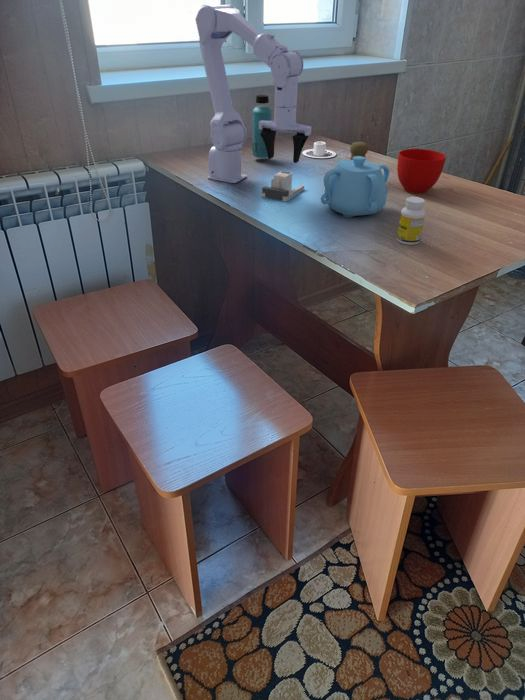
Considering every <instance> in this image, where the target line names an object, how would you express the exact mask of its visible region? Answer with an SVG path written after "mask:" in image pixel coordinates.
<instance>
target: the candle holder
mask: <svg viewBox="0 0 525 700" xmlns="http://www.w3.org/2000/svg"><path fill="white" fill-rule="evenodd" d="M310 151H312V152H313V154H314V155H313V156H312V155H309V154H308V153H311V152H310ZM325 151H327V152H325ZM307 152H308V153H307ZM328 152H330V153H332V155H331V154H330V153H329V154H330V155H328V156H326V153H328ZM306 153H307V154H306ZM301 155H303V156H305V157H308V158H313V159H329V158H333V157H336V156H337V153H336V152H335V151H333V150H330V149H327V143H326V142H325V141H315V142H313V148H310V149H305V150H302V151H301ZM315 155H316V156H315ZM323 155H324V156H323Z"/></svg>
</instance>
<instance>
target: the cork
mask: <svg viewBox="0 0 525 700" xmlns="http://www.w3.org/2000/svg"><path fill="white" fill-rule="evenodd" d="M349 150H350V154H351V156H350V159H349V160H353V157H355V156H362V157H365V158H366V155H367V154H368V151H369V146H368V144H367V143H366V142H365V141H364V142H363V141H354V142H352V144H350V147H349Z"/></svg>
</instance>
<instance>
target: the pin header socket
mask: <svg viewBox="0 0 525 700" xmlns="http://www.w3.org/2000/svg"><path fill="white" fill-rule="evenodd" d="M285 184H286V181H283V186H282V189H279V186H280V180H277V188H274V178H271V179H270V186H263V187H262V188H261V193H260V196H261V197H262V198H266V197H267V199H271V198H272V200H276V199H277V200H278V201H281V200H283V201H282V202H286V201H287V202H288V201H289V200H291V199H292V198H294V197H295V196H297V195H298V194H299V192H300V191H301V192H303V191H304V190H305V185H304V184H299V185H298V186H296V187H295V188H293V189H291V191H290V192H289V191H288V190H285ZM303 189H304V190H303ZM301 192H300V193H301ZM297 193H298V194H297ZM296 194H297V195H296ZM294 195H295V196H294ZM293 196H294V197H293ZM290 198H291V199H290Z"/></svg>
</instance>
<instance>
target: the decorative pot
mask: <svg viewBox="0 0 525 700" xmlns="http://www.w3.org/2000/svg"><path fill="white" fill-rule="evenodd" d="M382 169H383V171H382ZM389 177H390V169H389V167H388V166H386V165H385V164H383V163H380V164H379V163H378V164H376V163H375V162H371V161H368V160H367V158H366V156H365V157H362V156H355V157H353V160H350V159H349V160H348V159H345V158H343V159H340V160H339V161H338V162H337V163H336V164H335V165H334V167H333V168H331V169H330V170H328V171H327V172H326V173H325V174H324V177H323V186H324V192H323V194H322V195H321V196H320V202H321V203H322V204H324V205H328V206H329V208H330V209H332V210H334V211H335V212H337V213H340V214H343V217H344V218H348V219H349V218H350V219H351V218H353V217H354V216H365V215H371V216H372V215H375V214H376V213H378V212H380V211H381V210H382V209H383V208H384V206H385V205H386V202H387V194H388V188H387V186H386V185H387V184H386V183H387V181H388V179H389Z"/></svg>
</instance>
